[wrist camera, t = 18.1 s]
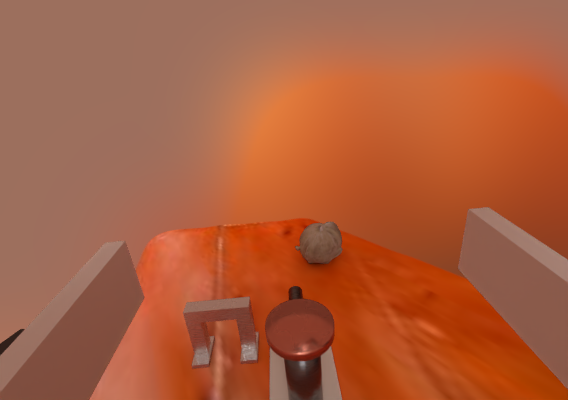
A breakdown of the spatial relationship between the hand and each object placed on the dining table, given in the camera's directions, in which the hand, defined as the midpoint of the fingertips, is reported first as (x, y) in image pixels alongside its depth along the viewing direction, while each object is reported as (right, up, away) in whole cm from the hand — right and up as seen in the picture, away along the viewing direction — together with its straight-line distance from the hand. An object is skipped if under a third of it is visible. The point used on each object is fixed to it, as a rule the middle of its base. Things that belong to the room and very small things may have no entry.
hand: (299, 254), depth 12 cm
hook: (+2, -20, +33) cm, 38 cm away
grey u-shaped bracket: (-9, -21, +35) cm, 41 cm away
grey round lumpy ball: (+7, -11, +54) cm, 55 cm away
